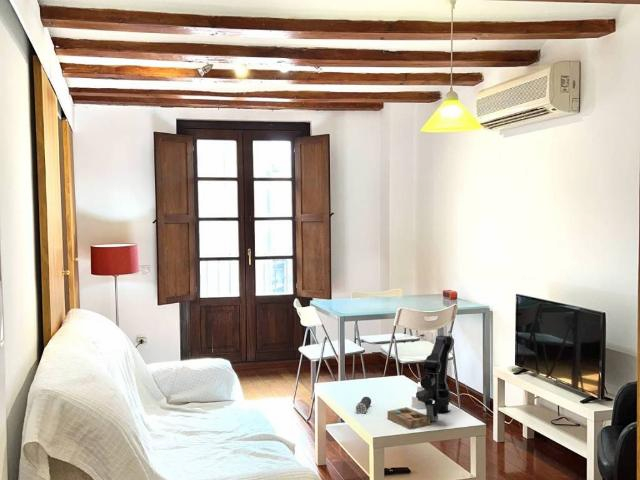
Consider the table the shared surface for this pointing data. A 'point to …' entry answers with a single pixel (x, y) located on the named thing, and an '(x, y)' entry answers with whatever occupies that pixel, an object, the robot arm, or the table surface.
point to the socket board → (408, 418)
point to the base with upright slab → (415, 401)
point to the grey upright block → (430, 412)
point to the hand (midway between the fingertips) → (432, 415)
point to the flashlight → (363, 405)
